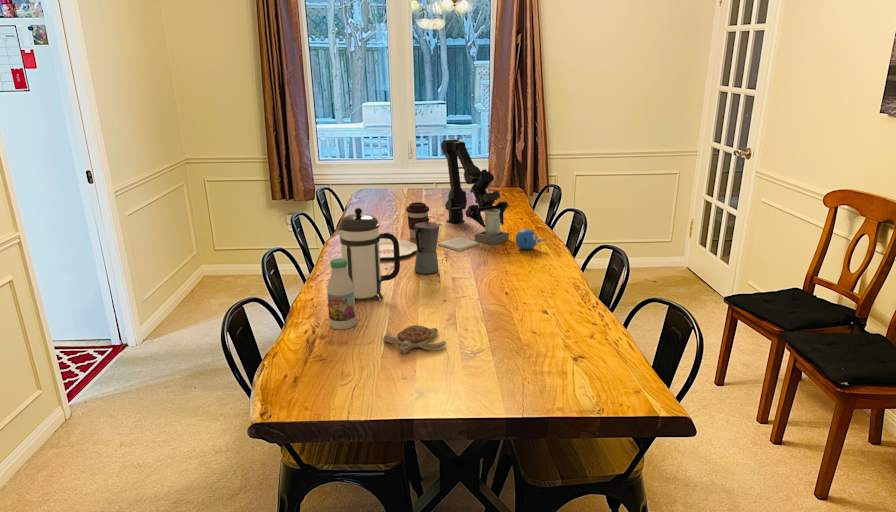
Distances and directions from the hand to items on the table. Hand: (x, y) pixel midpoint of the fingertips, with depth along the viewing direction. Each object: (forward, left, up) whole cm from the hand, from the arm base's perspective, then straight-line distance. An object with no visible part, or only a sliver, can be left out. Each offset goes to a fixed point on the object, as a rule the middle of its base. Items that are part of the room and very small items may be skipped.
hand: (493, 225), depth 248 cm
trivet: (-7, -14, -7) cm, 17 cm away
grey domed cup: (0, 0, -7) cm, 7 cm away
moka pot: (+6, -46, -7) cm, 47 cm away
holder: (-1, +1, -7) cm, 7 cm away
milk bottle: (+20, -95, -7) cm, 98 cm away
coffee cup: (-28, -17, -7) cm, 34 cm away
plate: (-23, -40, -7) cm, 47 cm away
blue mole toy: (+19, +1, -7) cm, 20 cm away
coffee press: (+8, -76, -7) cm, 77 cm away
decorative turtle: (+44, -89, -7) cm, 100 cm away
